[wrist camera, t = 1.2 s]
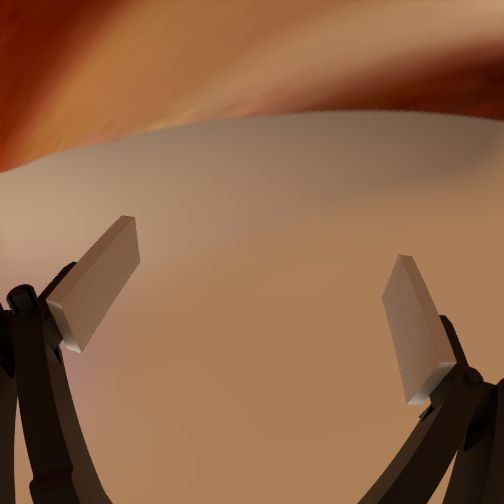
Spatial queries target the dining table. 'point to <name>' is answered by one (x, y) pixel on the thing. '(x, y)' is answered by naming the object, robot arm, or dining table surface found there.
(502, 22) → the dining table surface
